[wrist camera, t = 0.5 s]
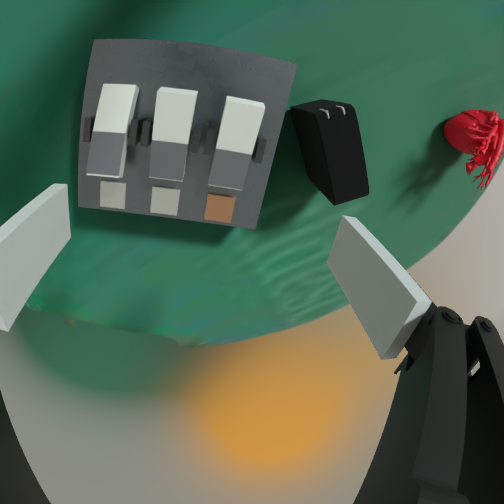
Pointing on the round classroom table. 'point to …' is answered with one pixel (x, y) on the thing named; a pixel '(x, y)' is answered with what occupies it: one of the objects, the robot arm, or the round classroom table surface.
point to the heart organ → (477, 139)
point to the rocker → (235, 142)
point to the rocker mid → (171, 133)
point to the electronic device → (332, 149)
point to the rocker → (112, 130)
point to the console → (202, 132)
